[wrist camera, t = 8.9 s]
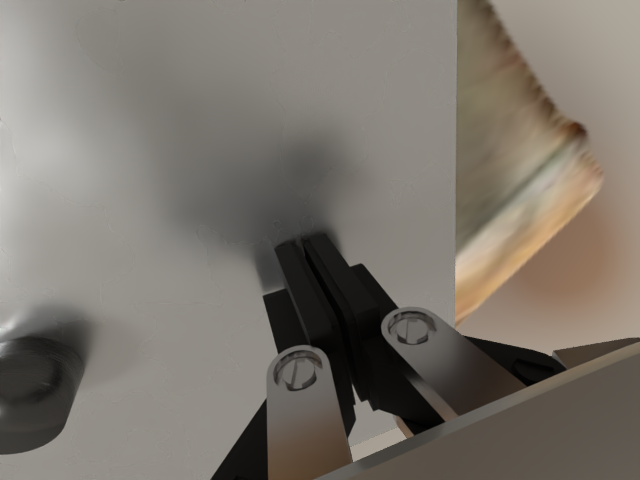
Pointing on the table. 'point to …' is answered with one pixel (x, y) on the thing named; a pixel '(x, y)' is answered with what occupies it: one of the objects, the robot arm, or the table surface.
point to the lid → (201, 209)
